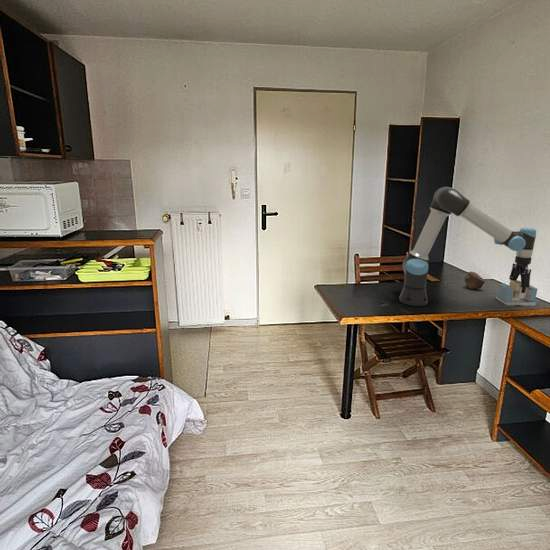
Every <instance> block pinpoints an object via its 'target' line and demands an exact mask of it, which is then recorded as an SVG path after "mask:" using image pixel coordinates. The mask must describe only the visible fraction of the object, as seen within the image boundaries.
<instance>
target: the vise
mask: <svg viewBox="0 0 550 550" xmlns="http://www.w3.org/2000/svg"><path fill="white" fill-rule="evenodd" d="M537 292H538V288H536V287H534V286H532V285H531V284H530V285H529V287H527V290H526V295H525V299H523V298H514V297H512V300H511V301H506V302H505V301H504V300H502V299H501V298H499V297H498V296H497V295H495V296H496V297H495V299H496V300H497V299H498V300H497V301H499V302H500V301H501V302H500V303H501V304H503V303H504V304H503V305H505V304H506V305H505V306H514V305H520V306H521V305H522V307H523V306H525V307H535V306H536V304H537V302H536V298H537V294H538V293H537Z"/></svg>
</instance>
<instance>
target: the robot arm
mask: <svg viewBox="0 0 550 550" xmlns="http://www.w3.org/2000/svg"><path fill="white" fill-rule="evenodd" d="M432 198H433V199H432V202H431V204H430V207H429V209H430V212H429V215H428V218H427V220H426V222H425V224H424V225H423V228H422V230H421V232H420V234H419V236H418V238H417V241H416V243H415V245H414V247H413V249H412V250H410V251H409V252H408V254H407V255H406V257H405V259H404V260H403V262H402V270H403V273H404V279H403V280H404V281H403V288H402V290H401V292H400V295H399V296H398V298H399V299H398V300H399V302H401V304H404V305H407V306H412V307H421V306H426V305H428V301H429V300H428V295H427V282H428V281H427V280H428V272H429V260H430V259H429V253H430V252H431V249H432V247H433V246H434V243H435V241H436V238H437V237H438V235H439V233H440V231H441V228H442V227H443V224H444V223H445V221H446V219H447V217H448V216H451V214H453V215H454V216H456V217H461V218H463V219H464V220H466V221H467V222H469V223H470V224H472V225H474V226H475V227H477V228H478V229H480V230H481V231H482V232H484V233H486V234H488V236H490V237H492V238H493V241H494V244H495V245H500V246H501V245H503V246H505V247H506V248H508V249H510V250H511V251H513V252H515V259H514V262H515V263H512V266H511V271H510V275H509V278H508V279H509V280H518V278H519V276H520V281H521V286H520V291H519V296H518V298H524V295H525V291H526V287H529V285H531V283H530V282H531V273H532V269H531V268H529V265H530V264H531V263H532V256H533V252H534V247H535V242H536V239H537V230H536V229H535V228H533V227H521V228H520V230H519V231H517V230H516V231H514V230H513V231H512V230H511V229H510V228H508V227H506V226H505V225H503V224H502V223H500V222H499V221H497V220H496V219H495V218H493V217H491V216H490V215H488V214H487V213H485V212H484V211H482V210H481V209H479V208H477V206H475V205H473V204H471V200H469V198H467V197H465V196H464V195H463V194H462V193H461V192H459V190H457V189H456V188H453V187H449V186H442V187H440V188H438V189H437V190H436V191H435V192H434V193H433V197H432Z"/></svg>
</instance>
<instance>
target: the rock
mask: <svg viewBox="0 0 550 550" xmlns="http://www.w3.org/2000/svg"><path fill="white" fill-rule="evenodd" d="M464 282H465V284H466V285H465V287H466V289H470V290H479V289H482V287H483V286H484V284H485V282H486V281H485V279H484V278H482V276H481V275H479V274H478V273H476V272H474V271H468V272H467V275H466V276H465V278H464Z"/></svg>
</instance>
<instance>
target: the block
mask: <svg viewBox="0 0 550 550" xmlns="http://www.w3.org/2000/svg"><path fill="white" fill-rule="evenodd" d="M508 286H509V287H511V288H513V290H514V291H513V297H514V298H518V296H519V291H520V286H521V280H518V279H517V280H510V281H509V285H508ZM526 290H527V287H526ZM525 295H526V291H525ZM525 295H524V298H523V299H525Z"/></svg>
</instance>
